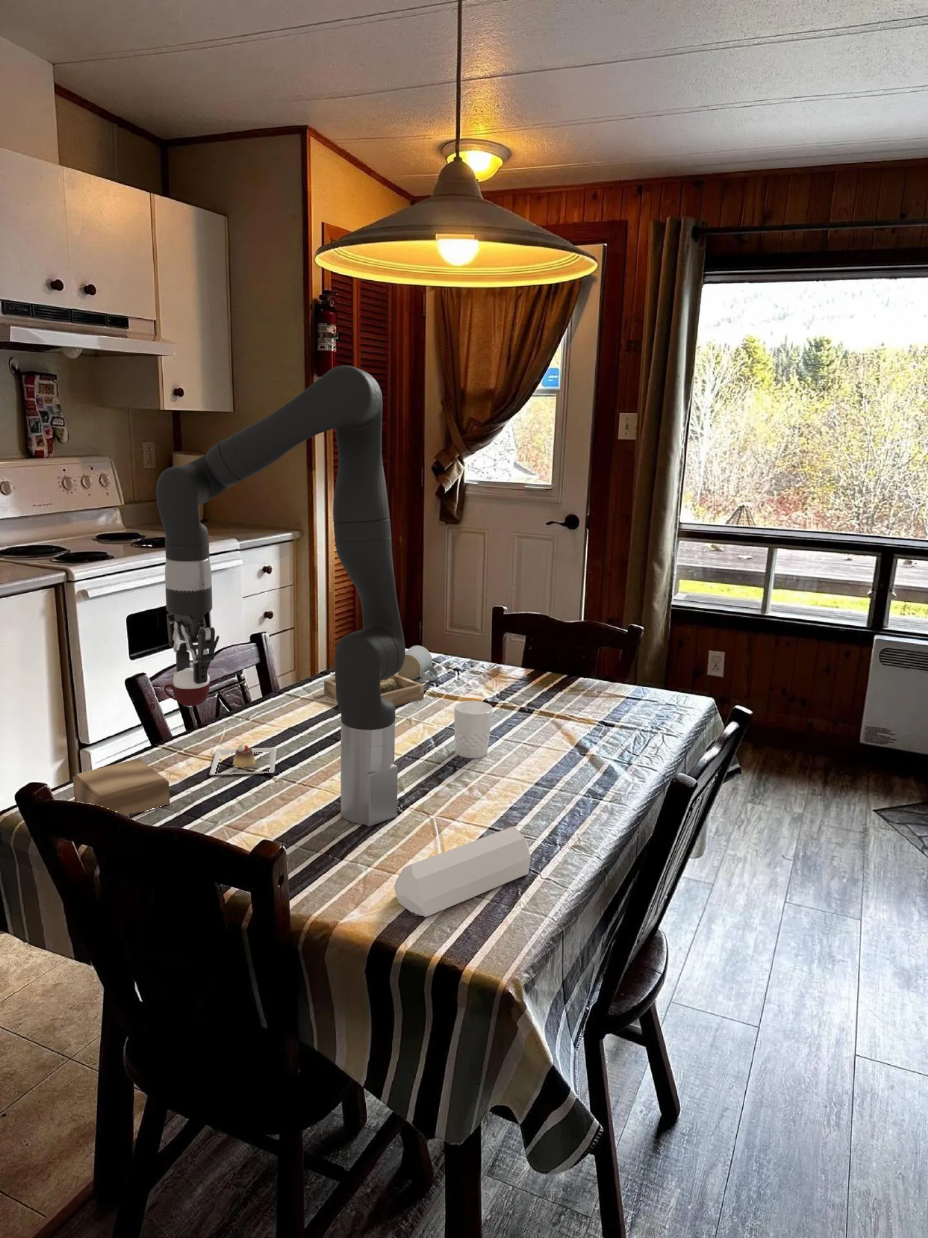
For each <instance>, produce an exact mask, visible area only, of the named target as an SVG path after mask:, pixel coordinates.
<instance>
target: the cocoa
mask: <svg viewBox="0 0 928 1238" xmlns="http://www.w3.org/2000/svg"><path fill="white" fill-rule="evenodd" d="M219 640H220V635H216V636H215V647H214V652H215V651H216V648H217V645H218V643H219ZM211 663H212V661H208V662H207V671H208V670H209V667H210V665H211ZM207 675H208V680H207V682H206V683H201V684H196V683H195V682H194V673H193V667H190V668H185V669H184V670H182V671H179V672H177V671H176V672H175V673H174V674H173V679H172V684H166V685H165V686H164V687H163V692H164V694H165V695H166V696H167V697H169V698H170V699H172V700H174V701H177V703H179V704H181V705H182V706H185V707H195V706H199V705H201V704H203V703H204V702H206V700H207V699H208V697H209V691H210V688H211V687H210V686H211V685H210V684H211V682H210V680H211V677H210V674H209V673H208V672H207ZM168 688H171V689H172V692H173V693H172V694H173V695H174V696H173V695H172V694H171V693H169V692H168V691H167V689H168Z"/></svg>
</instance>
